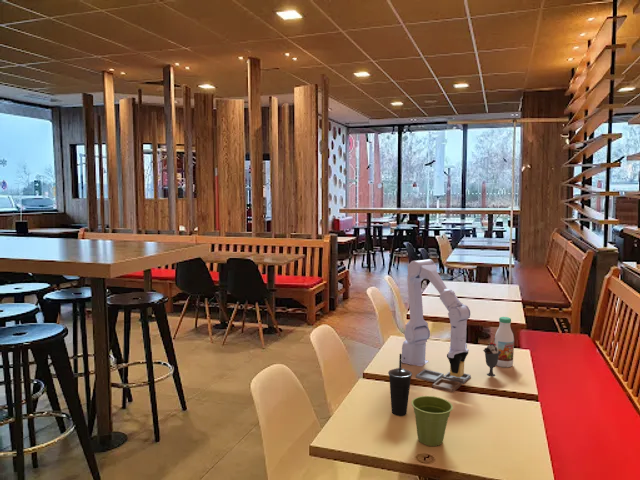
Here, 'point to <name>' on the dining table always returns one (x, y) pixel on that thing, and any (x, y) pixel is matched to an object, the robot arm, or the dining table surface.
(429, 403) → the plant pot
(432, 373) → the left dish
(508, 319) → the milk bottle
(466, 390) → the dining table surface
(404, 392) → the drinking cup
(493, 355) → the sundae
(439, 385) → the front dish
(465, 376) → the back dish
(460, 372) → the letter cube
